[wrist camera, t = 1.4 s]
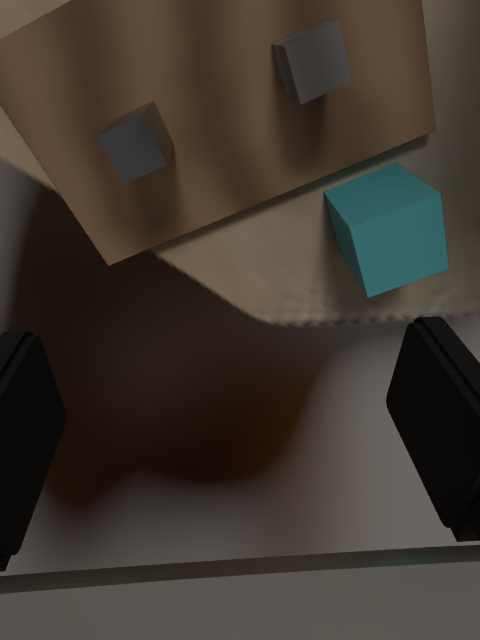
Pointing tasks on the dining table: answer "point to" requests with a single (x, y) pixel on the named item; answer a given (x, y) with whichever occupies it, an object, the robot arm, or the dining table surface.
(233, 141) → the flat wooden board
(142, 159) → the grey block
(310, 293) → the dining table surface
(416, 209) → the turquoise toy cube
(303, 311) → the dining table surface
